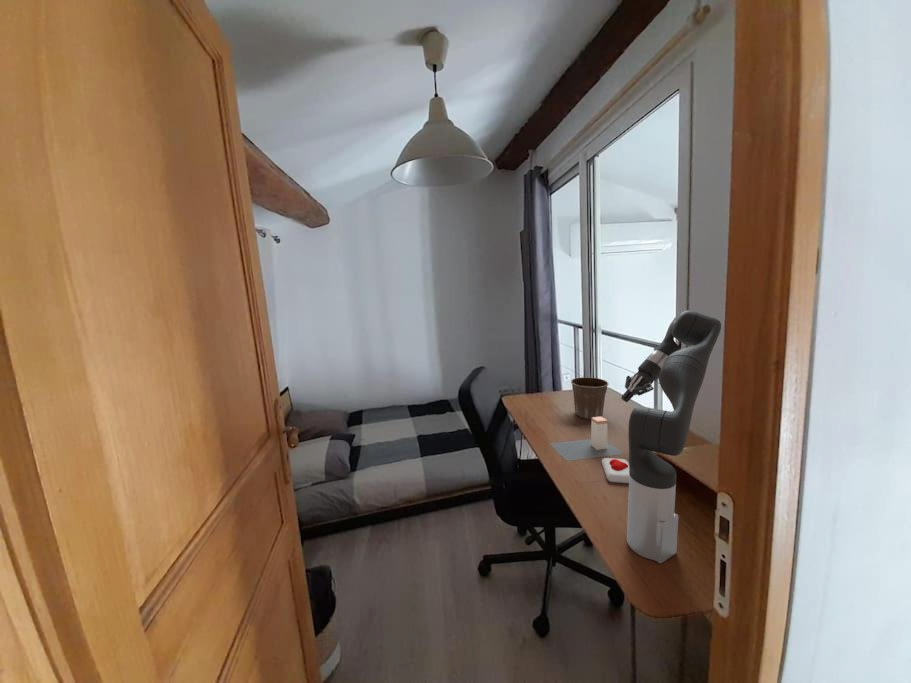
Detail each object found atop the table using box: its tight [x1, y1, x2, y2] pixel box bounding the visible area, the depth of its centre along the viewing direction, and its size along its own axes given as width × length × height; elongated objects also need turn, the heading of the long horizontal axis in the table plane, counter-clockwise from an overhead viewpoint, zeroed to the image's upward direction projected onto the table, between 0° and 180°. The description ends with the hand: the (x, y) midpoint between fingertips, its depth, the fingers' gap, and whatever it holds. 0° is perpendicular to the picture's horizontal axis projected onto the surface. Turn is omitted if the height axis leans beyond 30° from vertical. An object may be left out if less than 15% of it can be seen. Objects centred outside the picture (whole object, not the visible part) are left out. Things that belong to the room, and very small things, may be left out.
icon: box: [601, 457, 629, 484], centre depth 112 cm, size 12×4×10 cm
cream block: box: [590, 416, 609, 450], centre depth 128 cm, size 4×4×11 cm
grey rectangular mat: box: [549, 438, 625, 462], centre depth 129 cm, size 22×14×1 cm, turn 99°
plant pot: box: [570, 376, 609, 420], centre depth 161 cm, size 16×16×16 cm
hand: (623, 400), depth 128 cm, fingers closed
